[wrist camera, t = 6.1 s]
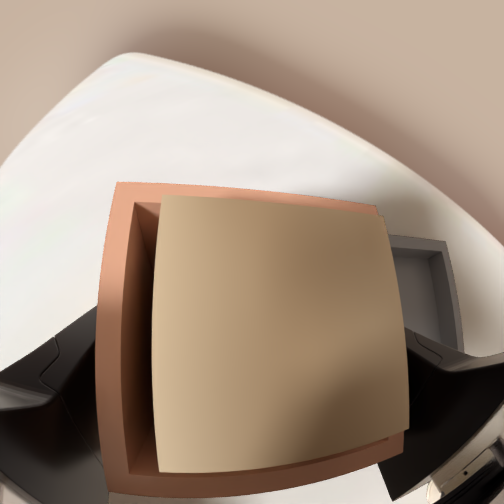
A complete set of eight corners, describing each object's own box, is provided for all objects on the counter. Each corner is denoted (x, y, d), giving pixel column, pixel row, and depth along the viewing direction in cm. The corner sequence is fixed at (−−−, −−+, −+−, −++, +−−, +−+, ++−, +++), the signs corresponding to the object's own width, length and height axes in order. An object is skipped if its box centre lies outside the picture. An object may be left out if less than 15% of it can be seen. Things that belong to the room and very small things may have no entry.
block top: (304, 277, 9) (383, 216, 5) (313, 408, 7) (409, 428, 4) (169, 273, 8) (161, 194, 4) (170, 417, 6) (159, 471, 3)
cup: (265, 298, 17) (375, 205, 7) (271, 406, 15) (403, 452, 5) (155, 295, 16) (116, 182, 6) (155, 408, 13) (108, 491, 3)
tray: (427, 251, 24) (445, 241, 21) (445, 381, 19) (465, 379, 17) (315, 243, 21) (330, 228, 19) (329, 417, 16) (348, 422, 14)
